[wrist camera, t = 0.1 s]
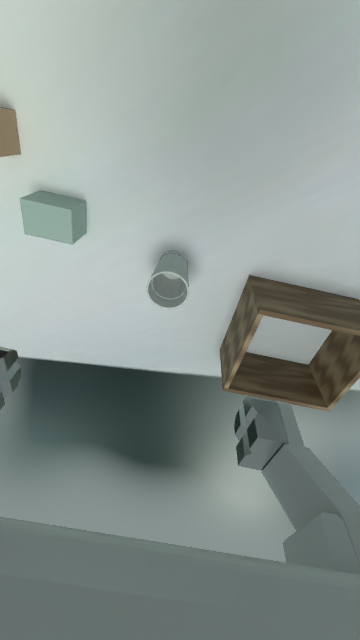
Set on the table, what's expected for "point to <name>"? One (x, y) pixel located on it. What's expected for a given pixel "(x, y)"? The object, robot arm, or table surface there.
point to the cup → (169, 281)
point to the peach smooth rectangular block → (8, 133)
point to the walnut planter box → (285, 376)
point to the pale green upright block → (54, 217)
